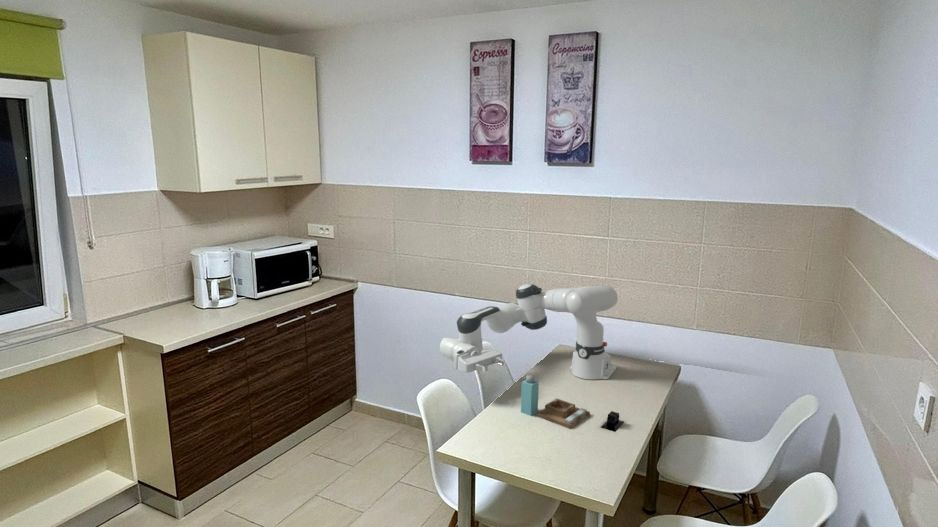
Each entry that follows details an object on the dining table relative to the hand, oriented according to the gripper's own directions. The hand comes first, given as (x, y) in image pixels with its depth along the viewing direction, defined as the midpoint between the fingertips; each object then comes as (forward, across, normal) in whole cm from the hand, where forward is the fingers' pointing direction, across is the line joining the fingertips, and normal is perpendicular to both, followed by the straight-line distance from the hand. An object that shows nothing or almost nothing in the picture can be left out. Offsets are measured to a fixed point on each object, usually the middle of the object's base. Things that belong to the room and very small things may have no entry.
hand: (494, 366), depth 210 cm
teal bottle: (+17, -1, -13) cm, 21 cm away
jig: (+28, -8, -12) cm, 31 cm away
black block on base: (+44, -16, -12) cm, 48 cm away
